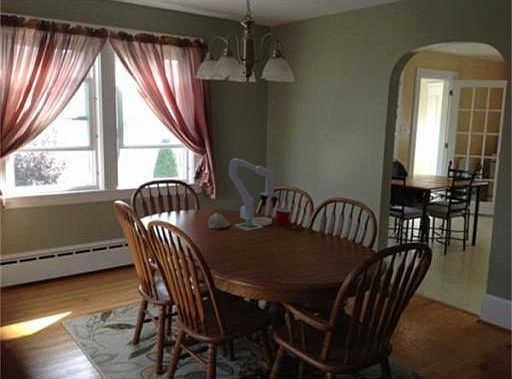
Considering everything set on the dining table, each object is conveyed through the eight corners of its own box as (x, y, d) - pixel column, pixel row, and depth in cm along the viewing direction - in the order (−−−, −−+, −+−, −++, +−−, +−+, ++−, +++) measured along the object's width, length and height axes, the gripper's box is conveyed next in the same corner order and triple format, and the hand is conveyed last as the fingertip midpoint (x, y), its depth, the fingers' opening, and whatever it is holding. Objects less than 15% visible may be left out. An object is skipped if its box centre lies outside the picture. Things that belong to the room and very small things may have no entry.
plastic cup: (291, 229, 302) (292, 210, 300) (274, 228, 302) (275, 210, 300) (290, 225, 313) (291, 207, 311) (274, 224, 313) (274, 207, 311)
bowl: (245, 223, 315) (245, 218, 315) (261, 220, 325) (261, 216, 324) (259, 227, 304) (260, 223, 304) (276, 224, 314) (276, 220, 314)
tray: (234, 227, 304) (234, 224, 303) (248, 224, 312) (248, 222, 311) (248, 231, 293) (248, 228, 293) (262, 228, 301) (263, 226, 301)
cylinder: (244, 226, 303) (244, 217, 302) (249, 226, 305) (249, 217, 304) (248, 228, 300) (248, 218, 299) (253, 227, 302) (253, 218, 301)
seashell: (231, 227, 305) (232, 212, 303) (215, 230, 295) (215, 214, 293) (219, 223, 313) (220, 209, 312) (203, 226, 304) (203, 211, 302)
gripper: (257, 187, 323) (257, 206, 325) (275, 189, 315) (275, 209, 317) (263, 186, 329) (262, 204, 331) (280, 188, 321) (280, 207, 323)
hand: (269, 206), depth 325 cm, fingers open, 7 cm apart
